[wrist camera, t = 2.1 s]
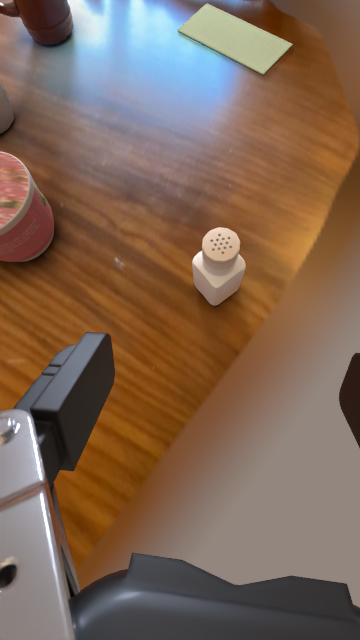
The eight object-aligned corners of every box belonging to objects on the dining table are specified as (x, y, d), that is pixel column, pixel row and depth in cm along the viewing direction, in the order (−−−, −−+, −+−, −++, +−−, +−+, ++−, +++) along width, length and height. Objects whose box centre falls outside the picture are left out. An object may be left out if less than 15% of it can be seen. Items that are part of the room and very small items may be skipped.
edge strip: (292, 45, 43) (292, 44, 43) (263, 75, 42) (263, 74, 42) (206, 4, 47) (206, 3, 47) (177, 31, 46) (177, 29, 45)
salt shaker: (218, 263, 35) (224, 214, 26) (241, 288, 34) (255, 246, 25) (191, 283, 34) (187, 240, 25) (213, 309, 33) (217, 274, 24)
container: (51, 277, 36) (10, 243, 28) (-27, 266, 37) (-87, 231, 29) (74, 203, 39) (42, 154, 31) (0, 195, 40) (-48, 145, 32)
